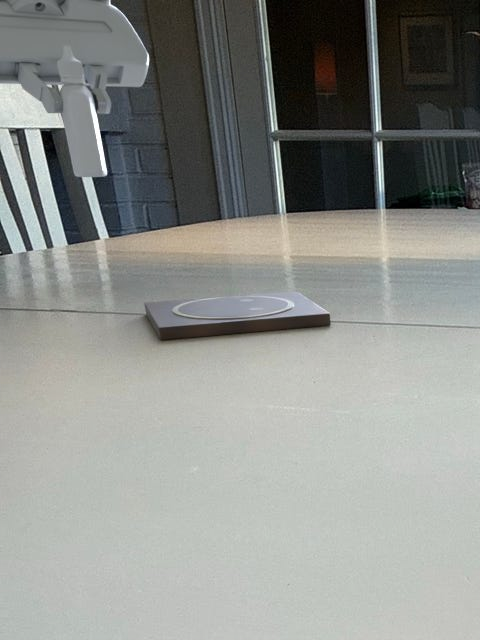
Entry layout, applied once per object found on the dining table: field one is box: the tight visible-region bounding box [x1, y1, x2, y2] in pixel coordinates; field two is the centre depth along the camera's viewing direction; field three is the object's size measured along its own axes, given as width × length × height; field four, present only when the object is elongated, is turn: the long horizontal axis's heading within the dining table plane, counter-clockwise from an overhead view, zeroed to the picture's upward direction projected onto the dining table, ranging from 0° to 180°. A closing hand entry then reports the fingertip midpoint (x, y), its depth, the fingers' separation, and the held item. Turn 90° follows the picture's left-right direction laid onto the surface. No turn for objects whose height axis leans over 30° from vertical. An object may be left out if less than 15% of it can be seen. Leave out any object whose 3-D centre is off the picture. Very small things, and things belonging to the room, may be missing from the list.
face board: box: [143, 290, 332, 341], centre depth 79 cm, size 14×12×1 cm
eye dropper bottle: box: [57, 46, 108, 178], centre depth 96 cm, size 4×6×12 cm
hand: (81, 108), depth 95 cm, fingers closed on eye dropper bottle, 4 cm apart
